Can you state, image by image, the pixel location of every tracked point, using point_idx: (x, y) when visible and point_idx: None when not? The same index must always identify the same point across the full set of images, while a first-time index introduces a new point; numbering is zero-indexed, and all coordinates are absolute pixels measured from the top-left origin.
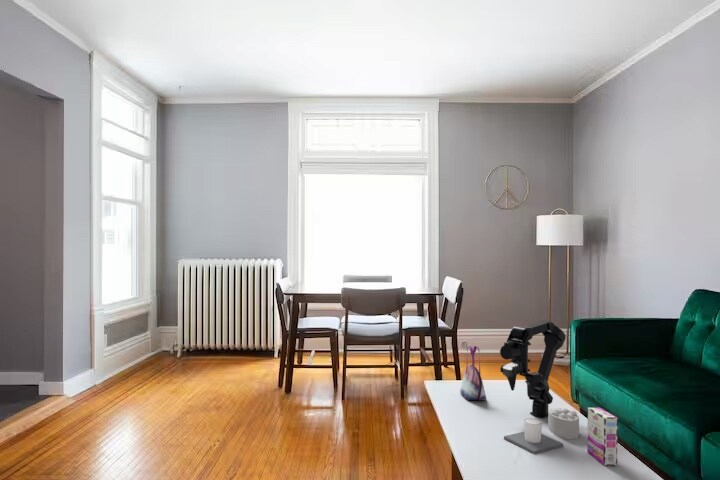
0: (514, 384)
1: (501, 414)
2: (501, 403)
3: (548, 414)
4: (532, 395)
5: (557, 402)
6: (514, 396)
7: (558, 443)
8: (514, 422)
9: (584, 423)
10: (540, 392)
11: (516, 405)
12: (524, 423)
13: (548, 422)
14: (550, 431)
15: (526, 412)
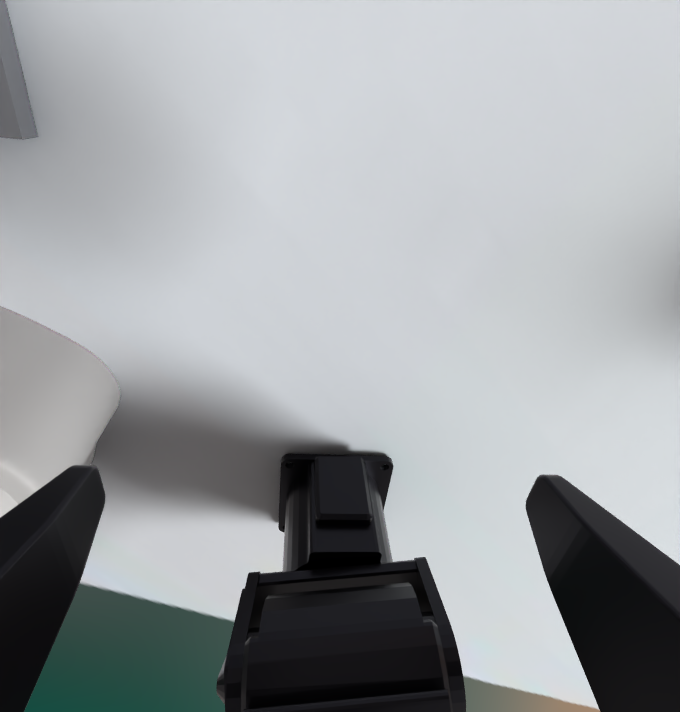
0: (579, 631)
1: (539, 270)
2: (650, 447)
3: (1, 427)
4: (366, 598)
5: None
6: None
7: None
8: (335, 208)
9: (100, 575)
10: (251, 678)
11: None
12: None
13: (47, 374)
14: (14, 312)
15: (424, 457)
